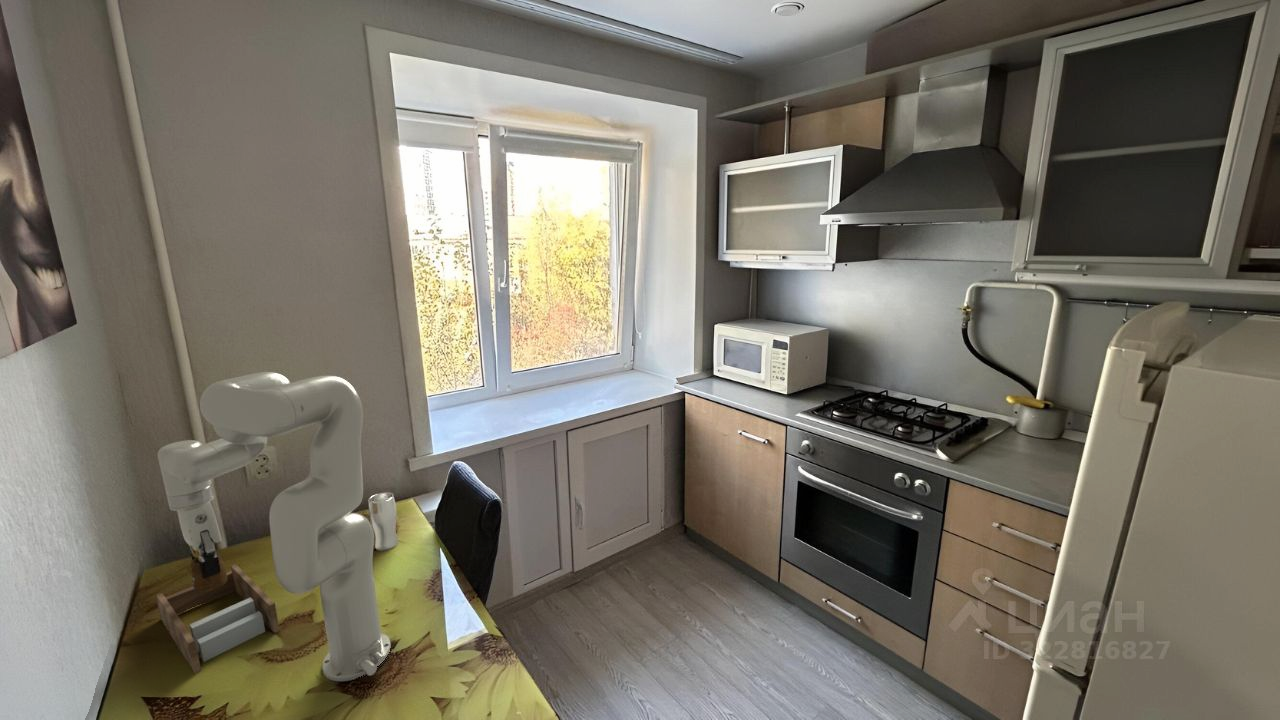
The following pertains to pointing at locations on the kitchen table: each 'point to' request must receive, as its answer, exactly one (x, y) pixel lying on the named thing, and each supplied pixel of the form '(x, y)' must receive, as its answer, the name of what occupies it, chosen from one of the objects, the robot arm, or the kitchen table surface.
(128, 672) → the kitchen table surface
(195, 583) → the utensil holder
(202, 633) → the offcut near
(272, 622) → the rack
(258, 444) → the robot arm
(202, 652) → the offcut front
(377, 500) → the beer glass
